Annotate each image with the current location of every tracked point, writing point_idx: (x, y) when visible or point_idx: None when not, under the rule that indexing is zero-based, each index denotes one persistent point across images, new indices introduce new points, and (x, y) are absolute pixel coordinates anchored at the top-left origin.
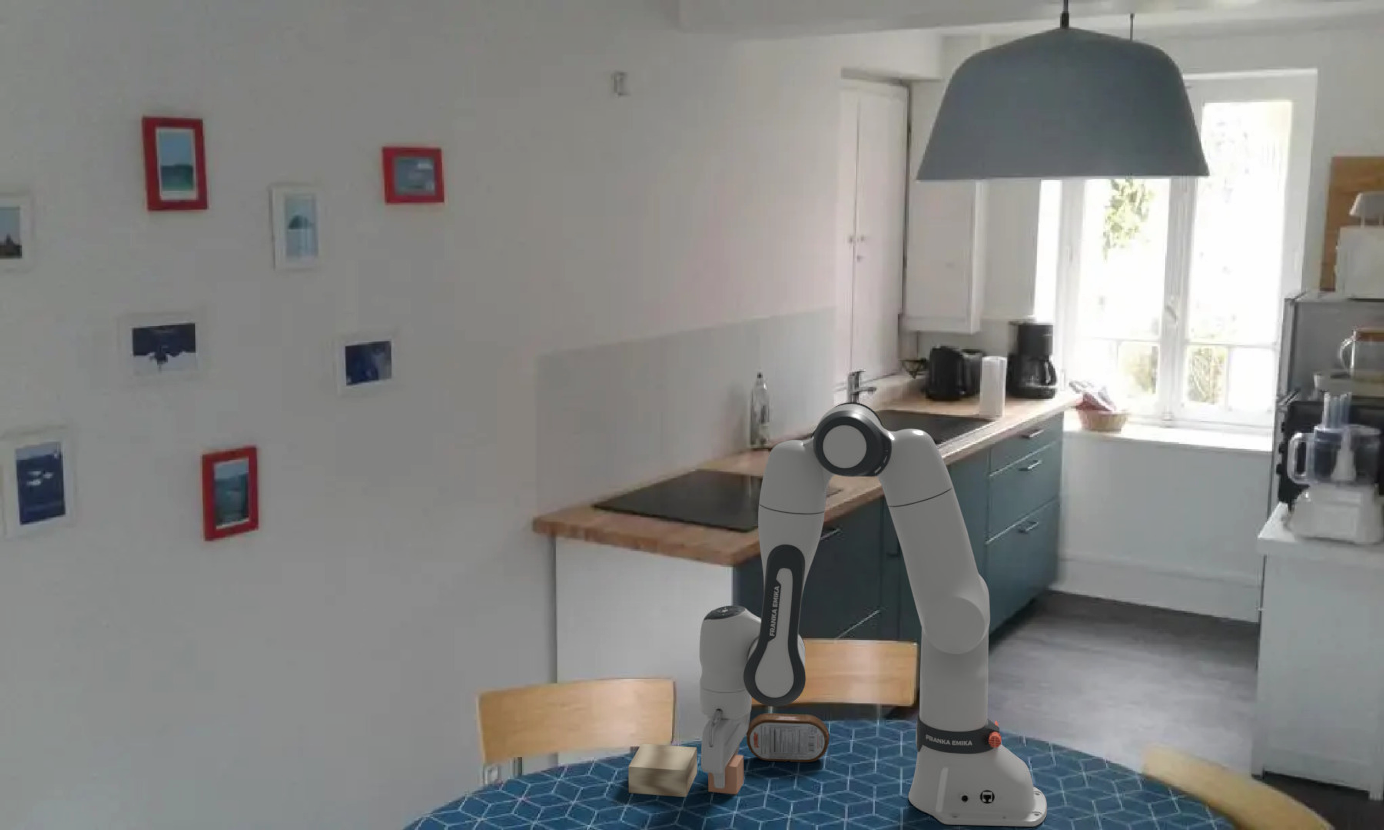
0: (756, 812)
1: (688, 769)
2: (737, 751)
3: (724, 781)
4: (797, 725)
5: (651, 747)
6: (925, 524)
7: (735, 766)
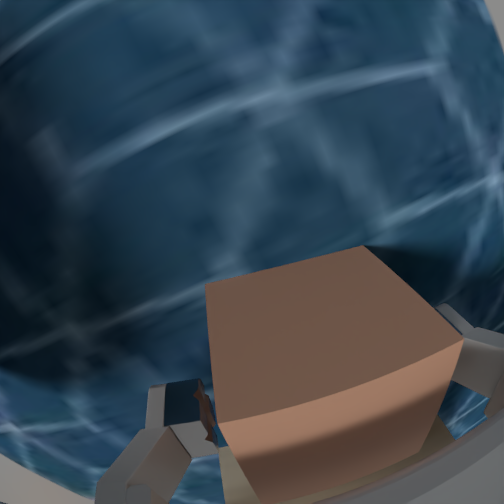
0: (481, 92)
1: (406, 460)
2: (141, 462)
3: (460, 319)
4: None
5: None
6: None
7: (456, 349)
